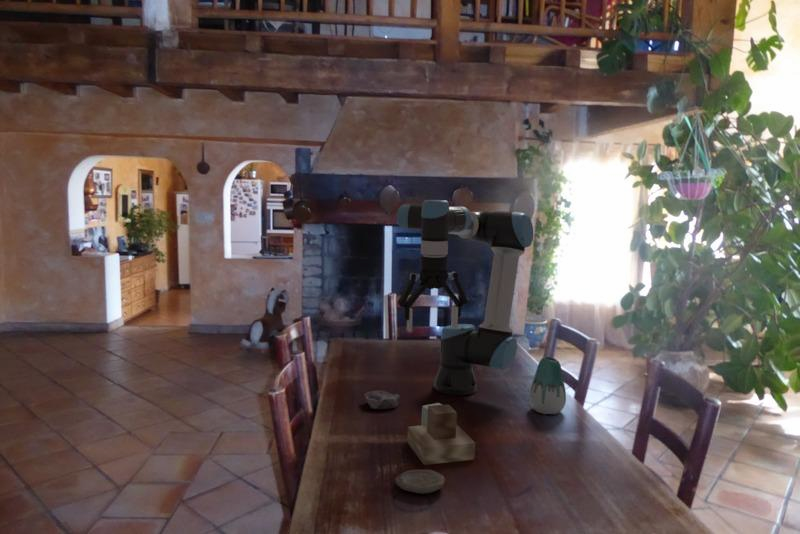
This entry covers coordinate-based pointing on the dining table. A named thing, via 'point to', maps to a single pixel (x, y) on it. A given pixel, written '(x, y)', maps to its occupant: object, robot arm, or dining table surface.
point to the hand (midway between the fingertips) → (432, 329)
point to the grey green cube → (426, 413)
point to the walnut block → (441, 422)
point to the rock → (381, 399)
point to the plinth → (440, 446)
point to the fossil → (420, 481)
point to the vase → (548, 387)
